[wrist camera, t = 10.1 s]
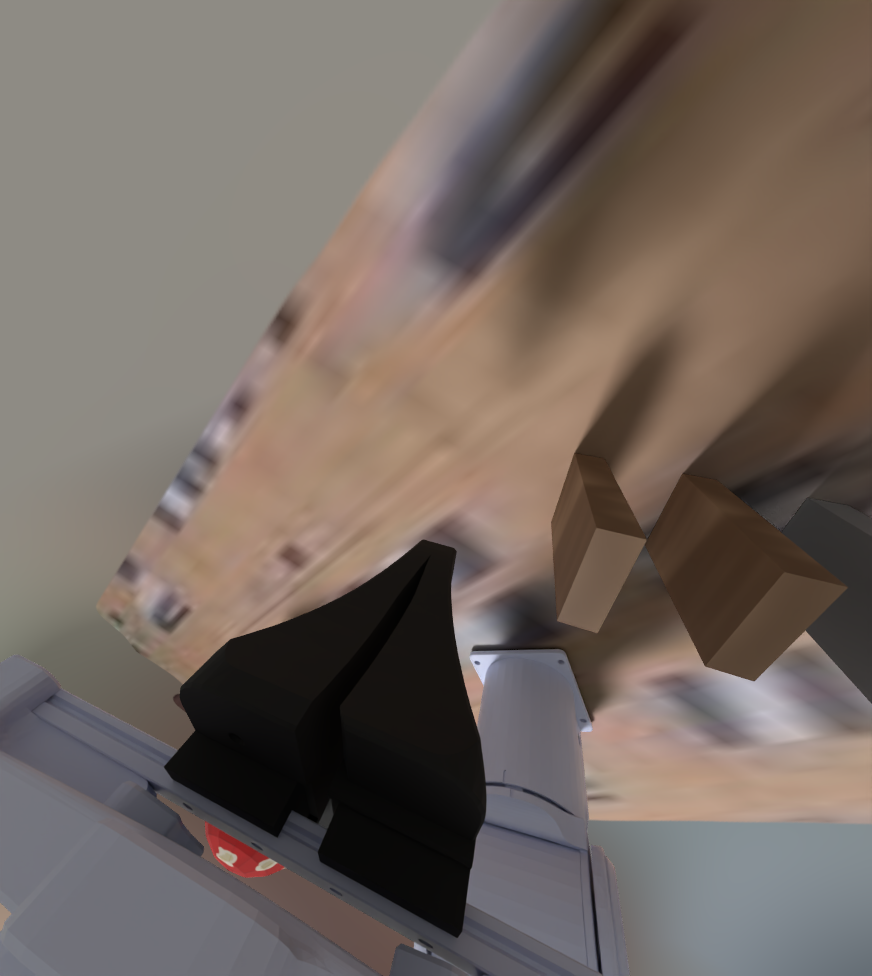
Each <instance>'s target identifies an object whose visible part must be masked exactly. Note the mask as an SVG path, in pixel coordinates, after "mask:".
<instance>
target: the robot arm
mask: <svg viewBox="0 0 872 976" xmlns="http://www.w3.org/2000/svg"><path fill="white" fill-rule="evenodd" d="M456 552H457V551H456V550H455V549H454V548H452V547H448V546H445V545H441V544H438V543H434V542H430V541H427V540H422V541H420V542H419V543H418V544H416V545H415V546H414V547H413V548H412V549H411V550H409V551H408V552H407V553H406V554H405V555H403V556H402V557H401V558H400V559H398V560H397V561H396V562H394V563H393V564H392V565H390V566H389V567H388V568H386V569H385V570H384V571H382V572H381V573H379V574H378V575H376V576H375V577H373V578H372V579H370V580H369V581H367V582H366V583H364V584H362V585H361V586H359V587H358V588H356V589H354V590H352V591H351V592H349V593H347V594H345V595H343V596H342V597H340V598H338V599H336V600H334V601H332V602H330V603H328V604H326V605H324V606H322V607H320V608H317V609H315V610H313V611H311V612H308V613H306V614H303V615H301V616H298V617H296V618H293V619H291V620H288V621H286V622H283V623H280V624H278V625H275V626H272V627H269V628H266V629H262V630H259V631H256V632H253V633H250V634H246V635H243V636H240V637H236V638H233V639H230V640H229V641H228V642H227V643H226V644H225V645H223V646H222V647H221V648H220V649H219V650H218V651H217V652H216V653H215V654H214V655H213V656H212V657H211V658H210V659H209V660H208V661H207V662H206V663H205V664H204V665H203V666H202V667H201V668H200V669H199V670H197V671H196V672H195V673H194V674H193V675H192V676H191V677H190V678H189V679H188V680H187V681H186V682H185V683H184V684H183V685H182V686H181V689H180V700H181V703H182V705H183V707H184V709H185V711H186V713H187V715H188V717H189V719H190V721H191V723H192V724H193V726H194V728H195V730H196V731H195V732H194V733H193V734H192V735H191V736H190V737H189V739H188V740H187V741H186V742H185V743H184V744H183V745H182V747H181V748H180V749H179V750H177V749H175V748H173V747H171V746H169V745H167V744H166V743H163V742H162V741H160V740H158V739H156V738H154V737H152V736H151V735H149V734H147V733H145V732H143V731H141V730H139V729H137V728H135V727H133V726H132V725H130V724H128V723H126V722H124V721H122V720H120V719H118V718H117V717H115V716H113V715H111V714H109V713H107V712H105V711H103V710H101V709H100V708H98V707H95V706H94V705H92V704H90V703H88V702H86V701H84V700H83V699H80V698H79V697H77V696H75V695H73V694H71V693H69V692H67V691H65V690H64V689H62V688H61V685H60V683H59V682H58V680H57V679H56V678H55V677H54V676H53V675H52V674H51V673H50V672H49V671H48V670H46V669H45V668H43V667H42V666H40V665H38V664H36V663H34V662H32V661H30V660H28V659H26V658H24V657H22V656H21V655H12V656H11V657H9V658H7V659H6V660H4V661H2V662H1V663H0V903H1V904H2V905H3V906H5V908H6V909H8V910H9V911H10V912H11V913H12V914H11V916H9V918H8V919H7V920H6V921H5V923H4V926H3V929H2V931H1V932H0V976H382V975H381V974H379V973H378V972H376V971H375V970H373V969H372V968H370V967H369V966H367V965H366V964H365V963H363V962H362V961H360V960H359V959H357V958H356V957H354V956H353V955H351V954H350V953H348V952H347V951H345V950H344V949H342V948H341V947H340V946H338V945H337V944H335V943H334V942H332V941H331V940H329V939H328V938H326V937H325V936H323V935H322V934H320V933H319V932H318V931H316V930H315V929H313V928H312V927H310V926H309V925H307V924H305V923H304V922H303V921H301V920H300V919H298V918H297V917H295V916H294V915H292V914H291V913H289V912H288V911H286V910H285V909H283V908H281V907H280V906H279V905H277V904H275V903H274V902H273V901H271V900H269V899H268V898H266V897H264V896H263V895H262V894H260V893H259V892H257V891H255V890H254V889H252V888H251V887H249V886H247V885H246V884H244V883H243V882H241V881H240V880H238V879H237V878H235V877H233V876H232V875H230V874H228V873H227V872H225V871H223V870H222V869H220V868H219V867H217V866H215V865H214V864H212V863H210V862H209V861H207V860H205V859H204V858H202V857H201V855H202V854H203V851H204V846H203V845H202V844H201V843H200V842H198V840H197V839H196V838H194V836H193V835H192V834H191V833H190V832H189V831H188V830H187V829H186V827H185V826H184V824H183V823H182V821H181V818H180V816H179V815H178V814H177V813H176V812H174V811H173V810H172V809H170V808H169V807H168V806H166V805H165V804H164V803H162V802H161V801H160V800H158V799H157V798H156V794H157V793H158V794H159V795H161V796H163V797H165V798H166V799H168V800H170V801H172V802H173V803H175V804H177V805H178V806H180V807H182V808H184V809H186V810H187V811H189V812H191V813H192V814H194V815H196V816H197V817H199V818H201V819H203V820H204V821H206V822H208V823H210V824H211V825H213V826H215V827H216V828H218V829H220V830H222V831H223V832H225V833H227V834H229V835H230V836H232V837H234V838H235V839H237V840H239V841H241V842H242V843H244V844H246V845H248V846H249V847H251V848H253V849H254V850H256V851H258V852H260V853H261V854H263V855H265V856H267V857H268V858H270V859H272V860H273V861H275V862H277V863H279V864H280V865H282V866H284V867H286V868H287V869H289V870H291V871H293V872H294V873H296V874H298V875H299V876H301V877H303V878H305V879H306V880H308V881H310V882H312V883H313V884H315V885H317V886H318V887H320V888H322V889H324V890H326V891H327V892H329V893H330V894H332V895H334V896H336V897H337V898H339V899H341V900H343V901H344V902H346V903H348V904H349V905H351V906H353V907H355V908H356V909H358V910H360V911H362V912H364V913H365V914H367V915H369V916H370V917H372V918H374V919H375V920H377V921H379V922H381V923H382V924H384V925H386V926H387V927H389V928H391V929H393V930H394V931H396V932H398V933H400V934H401V935H403V936H405V937H407V938H408V939H410V940H412V941H413V942H414V948H411V947H409V946H406V945H404V944H400V945H399V946H398V947H396V950H395V954H394V958H393V962H392V966H391V971H390V975H389V976H630V972H629V965H628V958H627V951H626V943H625V937H624V929H623V922H622V915H621V908H620V901H619V893H618V886H617V879H616V873H615V867H614V865H613V864H612V863H611V861H610V860H609V858H608V857H607V856H605V853H604V850H603V848H602V847H600V846H596V845H591V851H592V857H591V851H590V846H589V840H588V834H587V828H588V819H589V813H588V802H587V792H586V782H585V772H584V762H583V752H582V742H581V732H580V731H584V732H590V731H592V730H593V729H592V723H591V720H590V718H589V715H588V712H587V710H586V707H585V704H584V701H583V699H582V696H581V693H580V691H579V688H578V685H577V682H576V680H575V677H574V674H573V671H572V669H571V666H570V663H569V661H568V658H567V655H566V653H565V652H564V651H563V650H560V649H541V650H500V651H472V652H471V653H470V659H471V661H472V663H473V665H474V667H475V669H476V671H477V673H478V675H479V677H480V679H481V681H482V683H483V685H484V687H483V693H482V700H481V706H480V712H479V718H478V724H477V725H476V722H475V719H474V716H473V712H472V709H471V706H470V702H469V698H468V695H467V691H466V687H465V683H464V679H463V674H462V670H461V665H460V661H459V656H458V651H457V646H456V640H455V633H454V626H453V616H452V603H451V581H452V575H453V570H454V564H455V558H456Z"/></svg>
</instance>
